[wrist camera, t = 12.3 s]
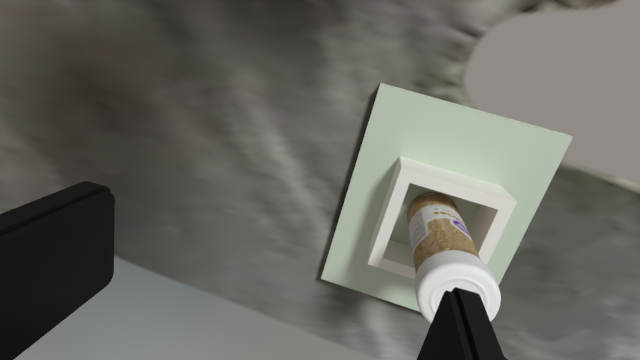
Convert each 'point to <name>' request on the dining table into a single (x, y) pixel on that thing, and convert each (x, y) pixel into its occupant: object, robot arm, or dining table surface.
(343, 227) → the chute mount
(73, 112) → the dining table surface
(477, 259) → the sprinkles bottle
